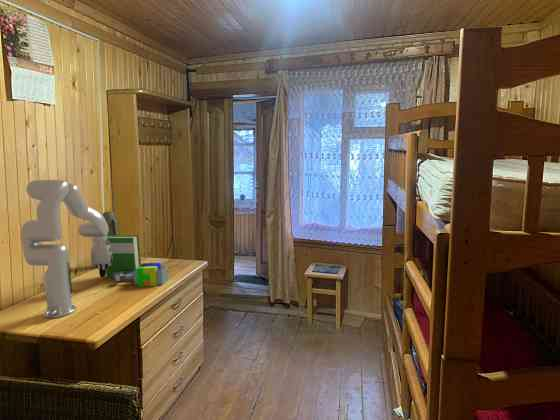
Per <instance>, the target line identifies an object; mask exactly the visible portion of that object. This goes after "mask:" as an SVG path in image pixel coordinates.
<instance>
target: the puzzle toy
mask: <svg viewBox="0 0 560 420" xmlns="http://www.w3.org/2000/svg"><path fill="white" fill-rule="evenodd" d="M160 266H162V263H161V262H147V263H141V265H140V266H139V267H138V268H137V280H138V285H137V287H156V286H158V285H157V275H156V271H157V270H158V269H159V268H160Z"/></svg>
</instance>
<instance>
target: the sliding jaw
mask: <svg viewBox="0 0 560 420" xmlns="http://www.w3.org/2000/svg"><path fill="white" fill-rule="evenodd" d="M137 268H138V267H137ZM137 268H136V269H135V270H134V271H133V274H124V271H120V272H119V273H118V274H117V275H116V281H115V282H120V281H119V280H121V279H122V278H123V277H133V279H134V281H133V285H134V286H138V280H137Z"/></svg>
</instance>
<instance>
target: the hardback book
mask: <svg viewBox="0 0 560 420" xmlns="http://www.w3.org/2000/svg"><path fill="white" fill-rule="evenodd" d="M107 237H108V241H110V243H109V244H108V245H110V247H111V251H112V257H113V261H112V265H111V266H108V267H107V268H106V275H105V276H106V279H107V280H108V279H111V280H114V276H113V272H117V271H134V270H135V269H136V268H137V267H139V266H140V265H141V264H142V259H141V258H142V257H141V247H140V235H138V234H128V235H127V234H126V235H125V234H119V235H109V236H107Z"/></svg>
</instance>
